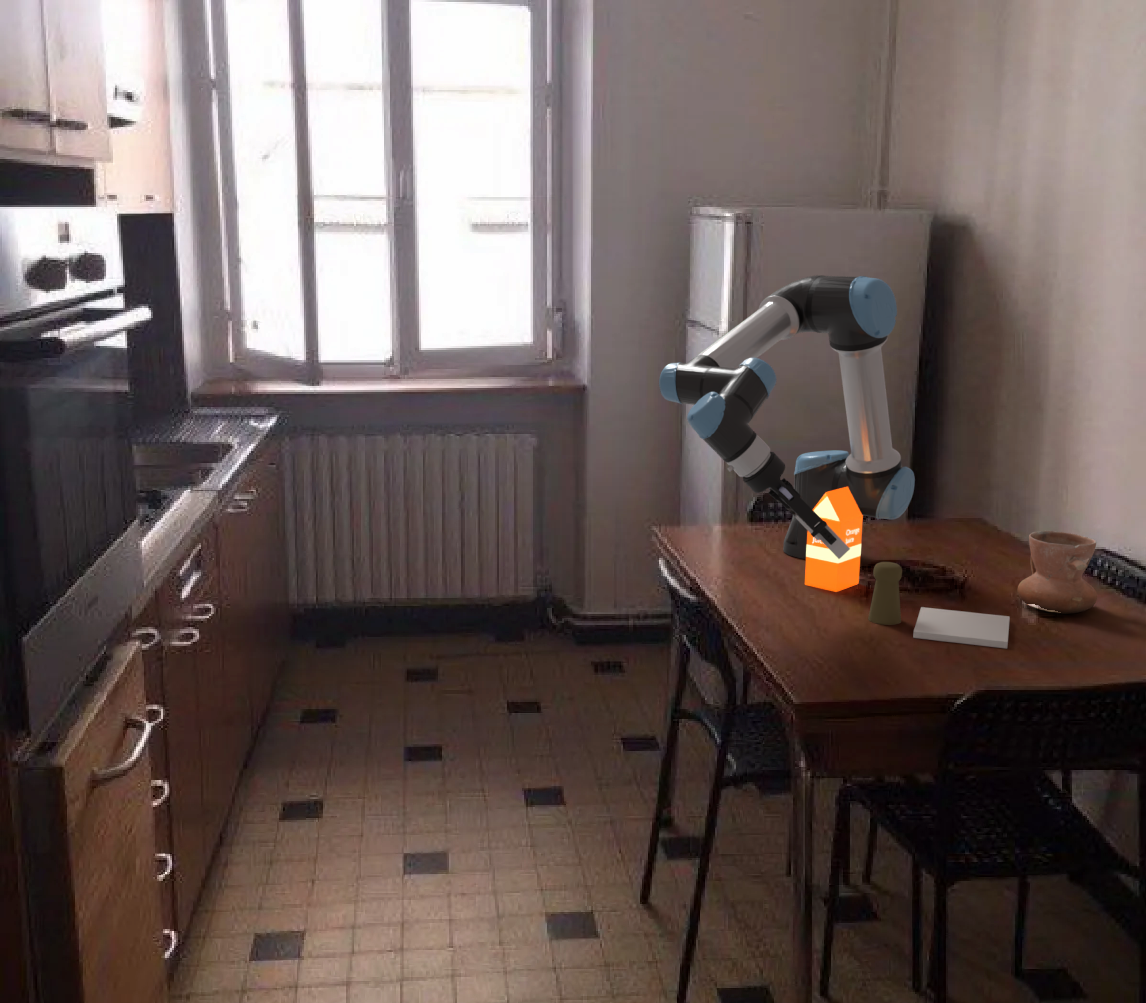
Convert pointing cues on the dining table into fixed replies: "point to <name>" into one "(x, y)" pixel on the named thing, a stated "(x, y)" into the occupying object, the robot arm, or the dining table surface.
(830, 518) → the orange juice
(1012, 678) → the dining table surface
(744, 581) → the dining table surface
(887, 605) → the cork
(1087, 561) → the ceramic jug
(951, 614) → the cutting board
